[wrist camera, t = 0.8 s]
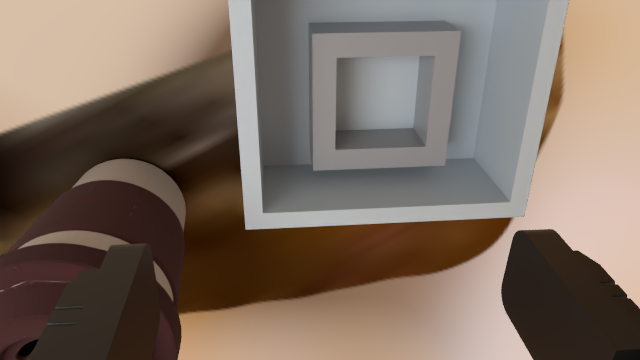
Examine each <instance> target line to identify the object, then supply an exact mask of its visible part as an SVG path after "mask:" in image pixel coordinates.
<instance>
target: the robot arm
mask: <svg viewBox="0 0 640 360" xmlns="http://www.w3.org/2000/svg"><path fill="white" fill-rule="evenodd" d="M501 290H502V291H501V293H502V301H503V305H504V308H505V311H506V313H507V315H508V316H509V318H510V320H511V322H512V323H513V325H514V327H515V329H516V330H517V332H518V334H519V335H520V337H521V339H522V341H523V342H524V344H525V346H526V348H527V349H528V351H529V353H530V354H531V356H532V358H533V359H534V360H640V309H639V307H638V306H637V305H636V304H635V303H634V302H633V301H632V300H631V299H628V298H627V294H626V293H625V292H624V291H623V290H622V289H621V288H620V286H618V285H615V281H614V280H613V279H612V278H611V277H610V275H608V273H607V272H606V271H605V270H604V269H603V268H602V267H601V265H600V264H598V263H596V262H595V261H593V260H592V259H590V258H589V257H587V256H585V255H584V254H582V253H581V252H579V251H573V250H572V249H571V248H570V247H569V246H568V245H567V244H566V243H565V241H564V240H563V239H562V238H561V237H560V235H559V234H558V233H557V232H556V231H554V230H550V229H547V230H521V231H517V232H516V233H515V235H514V237H513V240H512V244H511V248H510V253H509V257H508V261H507V265H506V270H505V273H504V278H503V282H502V289H501ZM55 307H56V309H55V310H53V312H52V314H51V316H50V318H49V320H48V322H47V327H45V328H44V330H43V332H42V334H41V336H40V338H39V340H38V342H37V344H36V346H35V348H34V350H33V352H32V354H31V356H30V358H29V360H151V358H152V354H153V350H154V346H155V342H156V337H157V333H158V329H159V322H160V300H159V293H158V287H157V281H156V275H155V269H154V263H153V257H152V251H151V247H150V245H149V244H148V243H146V244H119V245H111V246H110V247H109V249H108V251H107V253H106V256H105V258H104V260H103V262H102V265H101V267H100V269H96V270H84V271H83V272H81V273H80V274H79V275H78V276H77V277H76V278H75V279H74V280H73V281H71V282H70V283H69V284H68V285H67V286H66V287H65V289H64V291H63V293H62V295H61V296H60V298H59V300H58V302H57V304H56V306H55Z"/></svg>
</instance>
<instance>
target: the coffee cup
mask: <svg viewBox="0 0 640 360" xmlns="http://www.w3.org/2000/svg"><path fill="white" fill-rule="evenodd" d="M185 217H186V207H185V201H184V198H183V195H182V193H181V191H180V189H179V187H178V185H177V184H176V183H175V182H174V181H173V179H172V178H171V177H170V176H169V175H167V174H166V173H165V172H164V171H162V170H161V169H159V168H157V167H155V166H154V165H152V164H149V163H146V162H143V161H139V160H134V159H115V160H110V161H106V162H104V163H101V164H98V165H96V166H95V167H93V168H91V169H90V170H88V171H87V172H86V173H85V174H84V175H83V176H82V177H81V178H80V180H79V181H78V182H77V183H76V184H75V185H74V186H73V187H72V188H71V189H69V190H68V191H66V192H65V193H63V194H62V195H61V196H60V197H58V198H57V199H56V200H55V201H54V202H53V203H52V205H51V206H50V207H49V208H48V209H47V210H46V211H45V212H44V213H43V214H42V215H41V216H40V218H39V219H38V220H37V221H36V222H35V223H34V224H33V225H32V226H31V227H30V228H29V229H28V230H27V232H26V233H25V234H24V235H23V236H22V237H21V238H20V239H19V240H18V241H17V242H16V243H15V245H14V246H13V247H12V248H11V249H10V250H9V251H8V253H6V254H4V255H1V256H0V360H29V358H30V356H31V354H32V352H33V350H34V348H35V346H36V344H37V342H38V340H39V338H40V336H41V334H42V332H43V330H44V328H45V327H47V322H48V320H49V318H50V316H51V314H52V312H53V310H55V309H56V307H55V306H56V304H57V302H58V300H59V298H60V296H61V295H62V293H63V291H64V289H65V287H66V286H67V285H68V284H69V283H70V282H71V281H73V280H74V279H75V278H76V277H77V276H78V275H79V274H80V273H81V272H83V271H84V270H96V269H100V267H101V265H102V262H103V260H104V258H105V256H106V253H107V251H108V249H109V247H110V246H111V245H119V244H146V243H148V244H149V245H150V247H151V251H152V257H153V263H154V269H155V275H156V281H157V287H158V293H159V300H160V322H159V329H158V333H157V337H156V342H155V346H154V350H153V354H152V358H151V360H177V359H178V354H179V349H180V343H181V324H180V319H179V315H178V312H177V309H178V302H179V294H180V285H181V277H182V269H183V260H184V252H185V238H184V225H185Z"/></svg>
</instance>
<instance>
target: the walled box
mask: <svg viewBox="0 0 640 360" xmlns="http://www.w3.org/2000/svg"><path fill="white" fill-rule="evenodd" d="M228 3H229V16H230V29H231V43H232V56H233V69H234V83H235V96H236V109H237V122H238V136H239V149H240V162H241V175H242V189H243V202H244V215H245V229H246V230H251V229H272V228H294V227H315V226H336V225H357V224H378V223H399V222H420V221H441V220H462V219H483V218H504V217H524V215H525V210H526V205H527V201H528V196H529V191H530V186H531V182H532V176H533V172H534V167H535V162H536V158H537V153H538V148H539V143H540V138H541V134H542V129H543V124H544V119H545V115H546V110H547V105H548V100H549V95H550V91H551V86H552V81H553V76H554V71H555V67H556V62H557V57H558V52H559V47H560V43H561V38H562V33H563V28H564V24H565V19H566V14H567V9H568V4H569V0H228Z"/></svg>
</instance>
